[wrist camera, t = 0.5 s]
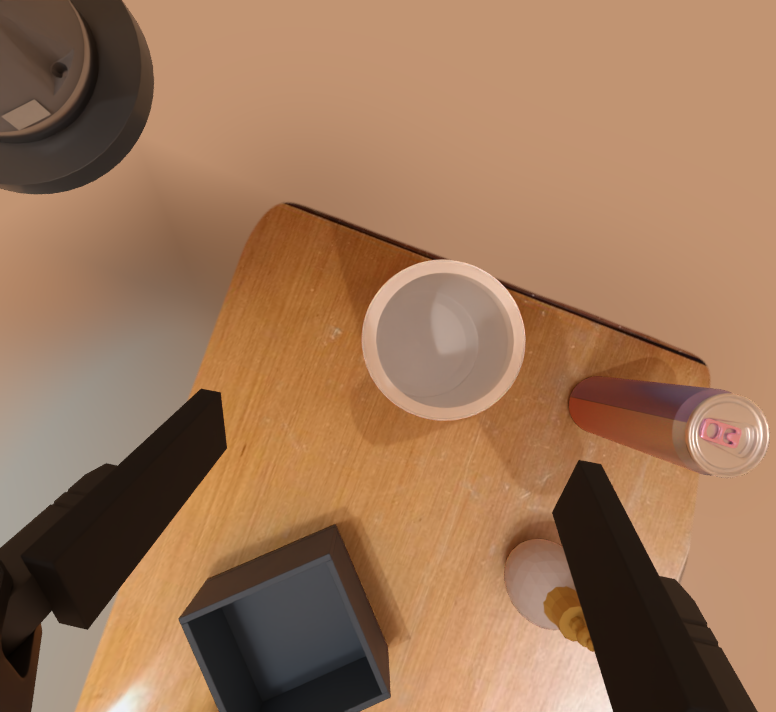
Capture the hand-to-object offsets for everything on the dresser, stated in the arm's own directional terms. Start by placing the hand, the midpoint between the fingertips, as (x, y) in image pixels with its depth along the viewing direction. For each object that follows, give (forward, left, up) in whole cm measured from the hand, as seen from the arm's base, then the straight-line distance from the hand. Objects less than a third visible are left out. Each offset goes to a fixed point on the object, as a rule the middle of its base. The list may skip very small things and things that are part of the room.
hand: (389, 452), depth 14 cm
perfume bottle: (+22, +8, -25) cm, 34 cm away
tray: (+18, -17, -24) cm, 35 cm away
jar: (-3, +5, -25) cm, 25 cm away
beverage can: (+10, +20, -25) cm, 34 cm away
